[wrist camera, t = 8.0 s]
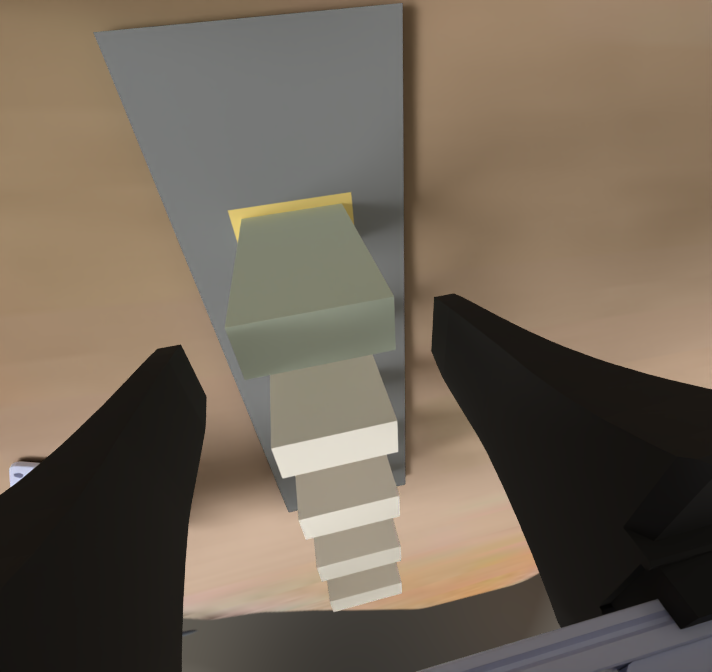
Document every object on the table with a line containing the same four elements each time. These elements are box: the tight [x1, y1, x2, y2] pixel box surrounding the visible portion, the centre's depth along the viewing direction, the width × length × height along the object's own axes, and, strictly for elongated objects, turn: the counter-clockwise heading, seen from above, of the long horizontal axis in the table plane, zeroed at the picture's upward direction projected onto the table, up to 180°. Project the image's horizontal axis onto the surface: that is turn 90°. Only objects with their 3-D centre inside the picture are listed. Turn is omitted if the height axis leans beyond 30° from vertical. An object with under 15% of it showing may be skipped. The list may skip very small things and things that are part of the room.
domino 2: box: [270, 354, 398, 478], centre depth 18 cm, size 2×5×9 cm, turn 95°
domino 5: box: [327, 562, 402, 612], centre depth 28 cm, size 2×5×9 cm, turn 95°
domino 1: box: [225, 203, 396, 380], centre depth 14 cm, size 2×5×9 cm, turn 95°
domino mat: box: [93, 3, 405, 512], centre depth 23 cm, size 34×11×1 cm, turn 5°
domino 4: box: [314, 518, 401, 581], centre depth 24 cm, size 2×5×9 cm, turn 95°
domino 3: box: [295, 455, 400, 540], centre depth 21 cm, size 2×5×9 cm, turn 95°
